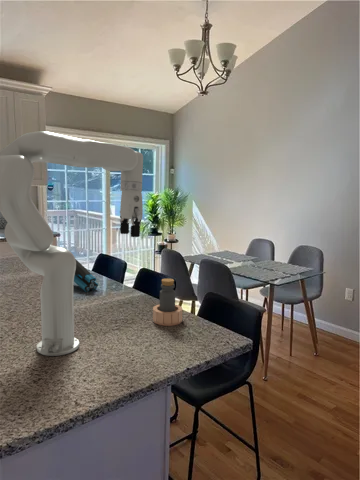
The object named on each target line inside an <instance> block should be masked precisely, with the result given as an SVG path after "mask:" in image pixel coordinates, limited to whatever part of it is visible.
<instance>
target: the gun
mask: <svg viewBox="0 0 360 480" xmlns="http://www.w3.org/2000/svg"><path fill="white" fill-rule="evenodd" d="M75 260H76V270H75V275H74V284H76V285H77V286H78V287H79V288H80V289H82V290H83V291H84V292H85V293H87V292H90V290H92V291H95V290H97V289H98V287H99V283H98V282H96V281H97V278H96V277H95V276H93V274H92V273H91V272H90V271H89V270H88V269H87V268H86V267H85V266H83V265H82V263H80V262H79V261H78V259H76V258H75Z"/></svg>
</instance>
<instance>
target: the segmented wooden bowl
mask: <svg viewBox="0 0 360 480" xmlns="http://www.w3.org/2000/svg"><path fill="white" fill-rule="evenodd" d="M152 322H153V323H154V324H156V325H158V326H163V327H174V326H178V325H180V324H181V323H182V322H183V306H181V305H179V304H175V311H173V312H163V311H160V303H159V304H156V305H155V306H152Z"/></svg>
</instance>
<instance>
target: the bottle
mask: <svg viewBox="0 0 360 480" xmlns="http://www.w3.org/2000/svg"><path fill="white" fill-rule="evenodd" d="M160 288H161V290H159V304H160V311H163V312H173V311H175V305H176V290H174V288H175V280H174V279H173V278H162V279H161V284H160Z"/></svg>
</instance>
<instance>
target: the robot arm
mask: <svg viewBox="0 0 360 480" xmlns="http://www.w3.org/2000/svg"><path fill="white" fill-rule="evenodd" d="M34 163H48V164H55V165H60V166H61V165H62V166H68V167H75V168H86V169H87V168H89V169H90V168H102V169H103V170H104V171H108V172H120V188H119V189H120V191H121V195H120V196H121V197H120V207H119V208H120V210H119V215H120V216H119V218H120V219H119V223H120V226H119V227H120V229H119V230H120V231H119V232H120V235H129V233H130V238H140V236H141V235H140V234H141V222H142V219H143V212H144V211H143V210H144V207H143V193H142V192H143V169H144V168H143V166H144V154H143V153H141V152H140V151H135V149H133V148H131V147H129V146H125V145H121V144H117V143H116V144H115V143H110V142H102V141H97V140H96V141H95V140H92V139H82V138H78V137H74V136H68V135H64V134H59V133H55V132H51V131H43V130H42V131H41V130H39V131H33V132H27V133H24V134H22V135H20V136H18V137H16V139H14V140H13V141H12V142H9V144H7V145H6V146H4V147H3V148H2V149H0V213H1V215H2V217H3V218H4V220H5V221H6V222H7V223H6V225H5V227H4V237H5V239H6V242H7V244H8V245H9V246H10V248H11V249H12V250H13V252H14V254H16V256H17V257H18V258H19V259H20V261H21V262H22V263H23V264H24V266H25V267H26V268H27V269H28V270H29V271H31V272H33V273H35V274H38V275H41V276H42V277H43V280H42V282H41V283H42V284H41V286H40V294H39V295H40V315H41V316H40V318H41V319H40V320H41V321H40V322H41V341H39V342H38V343H37V344H36V351H37V353H39V354H40V355H43V356H48V357H54V356H55V357H58V356H64V355H67V354H71V353H73V352H75V351H76V350H78V349H79V347H80V340H79V339H78V338H76V337H75V310H74V309H75V307H74V306H75V305H74V284H75V282H74V275H75V270H76V260H77V259H76V257H75V255H74V254H73V253H72V252H71V251H70V250H69V249H67V248H64V247H63V246H56V245H53V243H54V233H53V230H52V229H51V228H52V227H50V225H49V224H48V222H47V220H46V219H45V218H44V217H43V215H42V214H41V212H40V211H39V210H38V208H37V206H36V205H35V203H34V201H33V199H32V195H31V192H32V190H31V189H32V186H33V182H34V178H35V174H36V173H35V171H36V170H35V167H34ZM129 221H130V222H131V225H130V222H129ZM75 259H76V260H75Z"/></svg>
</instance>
